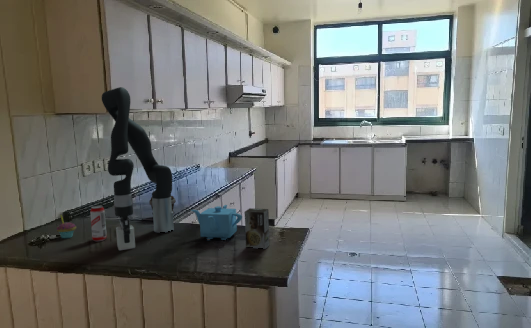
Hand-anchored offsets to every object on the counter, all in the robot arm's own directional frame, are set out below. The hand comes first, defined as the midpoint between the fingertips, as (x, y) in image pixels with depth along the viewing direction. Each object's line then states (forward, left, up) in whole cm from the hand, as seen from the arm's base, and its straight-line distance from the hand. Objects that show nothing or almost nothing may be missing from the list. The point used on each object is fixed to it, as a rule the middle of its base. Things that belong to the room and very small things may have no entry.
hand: (125, 240), depth 176 cm
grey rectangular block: (0, 0, -3) cm, 3 cm away
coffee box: (-51, +29, -3) cm, 59 cm away
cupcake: (+24, -32, -3) cm, 40 cm away
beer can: (+10, -18, -3) cm, 21 cm away
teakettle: (-40, +7, -3) cm, 41 cm away
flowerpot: (-26, -47, -3) cm, 54 cm away
